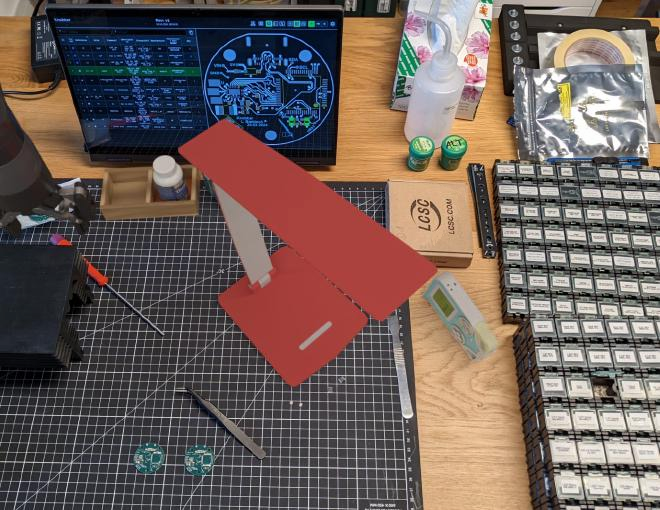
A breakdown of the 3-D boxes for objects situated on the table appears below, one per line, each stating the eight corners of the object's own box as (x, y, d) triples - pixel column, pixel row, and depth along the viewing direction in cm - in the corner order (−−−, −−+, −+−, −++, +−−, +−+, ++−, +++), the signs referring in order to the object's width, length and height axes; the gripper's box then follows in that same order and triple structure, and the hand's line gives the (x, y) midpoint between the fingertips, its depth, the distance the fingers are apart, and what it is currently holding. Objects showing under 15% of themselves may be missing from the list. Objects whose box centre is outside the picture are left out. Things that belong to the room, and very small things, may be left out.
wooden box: (198, 215, 118) (195, 203, 114) (106, 220, 117) (99, 208, 113) (200, 176, 122) (196, 164, 119) (110, 181, 121) (104, 169, 118)
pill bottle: (184, 209, 117) (174, 178, 109) (157, 204, 118) (144, 173, 109) (192, 186, 120) (183, 154, 112) (166, 182, 120) (154, 150, 112)
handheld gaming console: (470, 369, 105) (419, 297, 109) (483, 361, 106) (432, 289, 110) (491, 353, 95) (434, 274, 99) (505, 344, 96) (448, 266, 100)
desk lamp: (340, 441, 97) (349, 349, 62) (192, 281, 111) (131, 132, 76) (418, 367, 103) (466, 245, 68) (269, 223, 117) (245, 61, 82)
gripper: (74, 136, 73) (106, 204, 88) (-56, 139, 71) (-1, 208, 86) (69, 191, 70) (103, 252, 85) (-66, 196, 68) (-8, 258, 83)
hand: (50, 230), depth 85 cm, fingers open, 8 cm apart
